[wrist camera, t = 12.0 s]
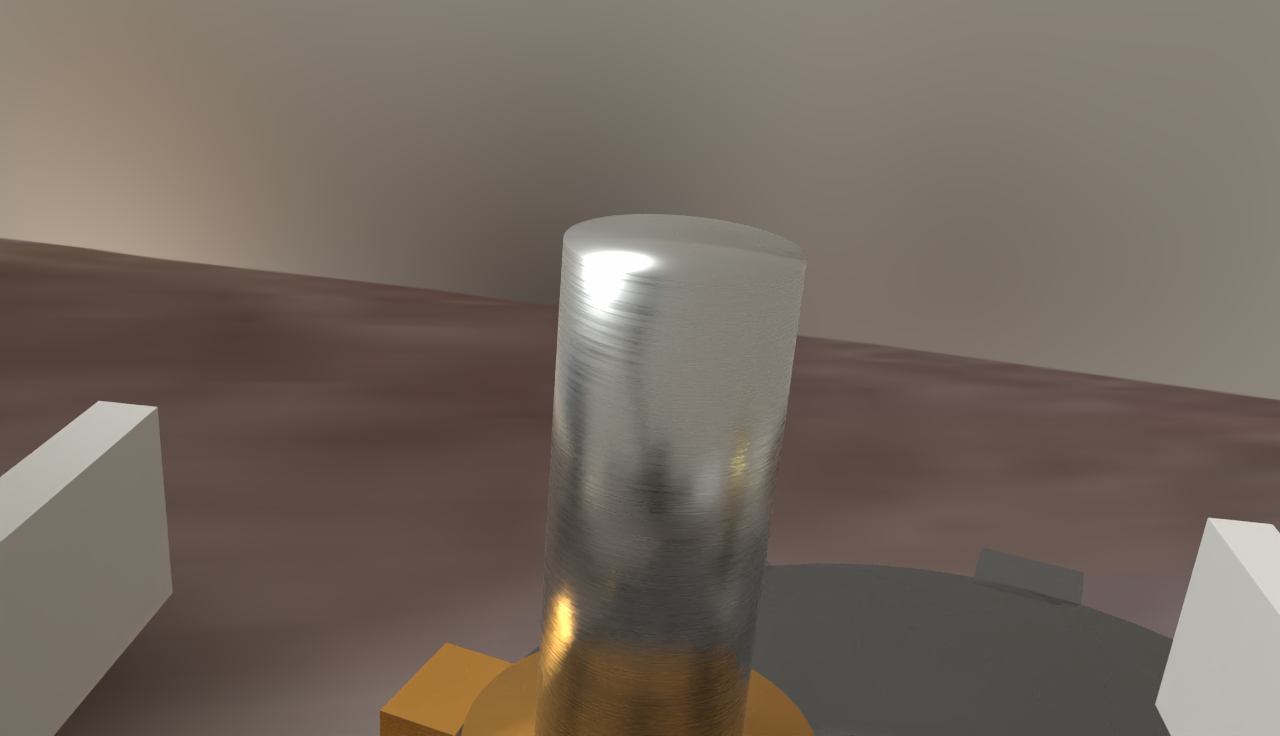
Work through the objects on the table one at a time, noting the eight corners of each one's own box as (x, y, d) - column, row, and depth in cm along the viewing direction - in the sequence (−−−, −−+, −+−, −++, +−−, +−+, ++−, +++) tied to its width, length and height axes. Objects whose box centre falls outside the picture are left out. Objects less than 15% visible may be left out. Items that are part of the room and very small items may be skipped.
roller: (507, 698, 24) (530, 216, 21) (685, 664, 26) (736, 211, 22) (576, 835, 21) (619, 289, 17) (776, 786, 22) (854, 276, 19)
